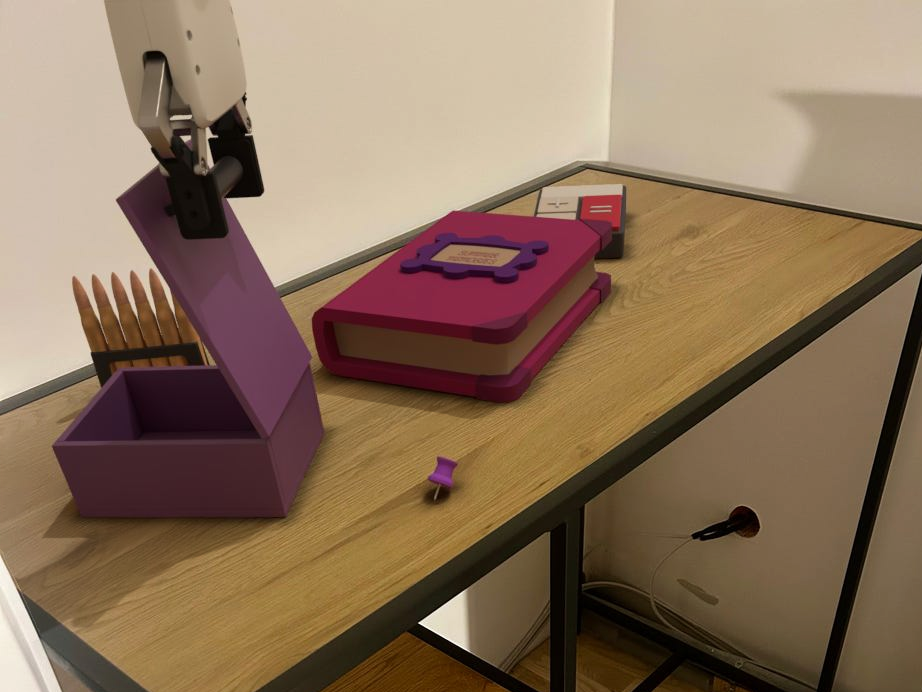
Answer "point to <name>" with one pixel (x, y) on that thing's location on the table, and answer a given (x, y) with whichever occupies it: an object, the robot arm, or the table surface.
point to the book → (467, 305)
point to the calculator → (588, 209)
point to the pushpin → (443, 473)
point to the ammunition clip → (136, 328)
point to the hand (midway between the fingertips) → (225, 214)
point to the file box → (185, 447)
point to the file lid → (224, 296)
